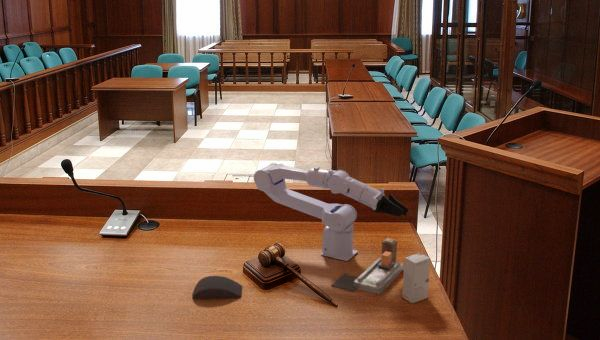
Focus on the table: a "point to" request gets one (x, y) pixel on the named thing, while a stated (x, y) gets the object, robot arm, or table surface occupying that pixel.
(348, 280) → the rubber pad
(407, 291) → the skincare box
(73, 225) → the table surface
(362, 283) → the breaker panel
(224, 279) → the computer mouse
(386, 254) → the lever
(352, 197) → the robot arm
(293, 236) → the table surface
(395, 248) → the brown rectangular block
